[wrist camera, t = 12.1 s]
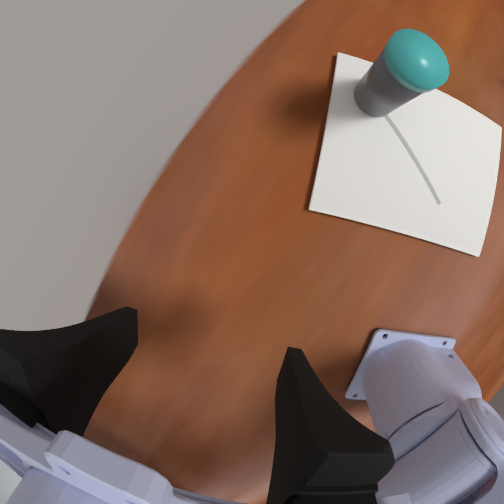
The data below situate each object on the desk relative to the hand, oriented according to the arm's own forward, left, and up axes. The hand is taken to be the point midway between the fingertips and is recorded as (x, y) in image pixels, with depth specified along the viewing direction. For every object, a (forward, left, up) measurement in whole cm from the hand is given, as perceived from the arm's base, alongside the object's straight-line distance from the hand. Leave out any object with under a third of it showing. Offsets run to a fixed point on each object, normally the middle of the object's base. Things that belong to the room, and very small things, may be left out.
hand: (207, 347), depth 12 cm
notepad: (-12, -12, -9) cm, 19 cm away
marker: (-7, -15, -9) cm, 19 cm away
